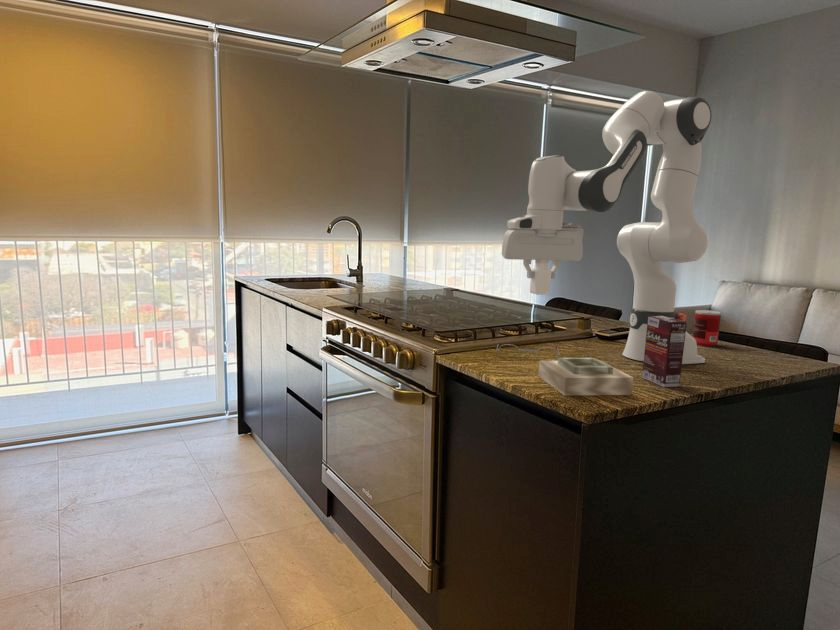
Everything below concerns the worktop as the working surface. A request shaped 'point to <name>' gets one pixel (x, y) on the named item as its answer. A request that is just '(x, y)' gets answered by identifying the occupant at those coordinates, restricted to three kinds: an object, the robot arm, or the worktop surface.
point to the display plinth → (585, 377)
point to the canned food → (706, 327)
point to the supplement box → (664, 350)
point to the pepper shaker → (541, 278)
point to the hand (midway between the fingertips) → (540, 278)
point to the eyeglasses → (531, 350)
